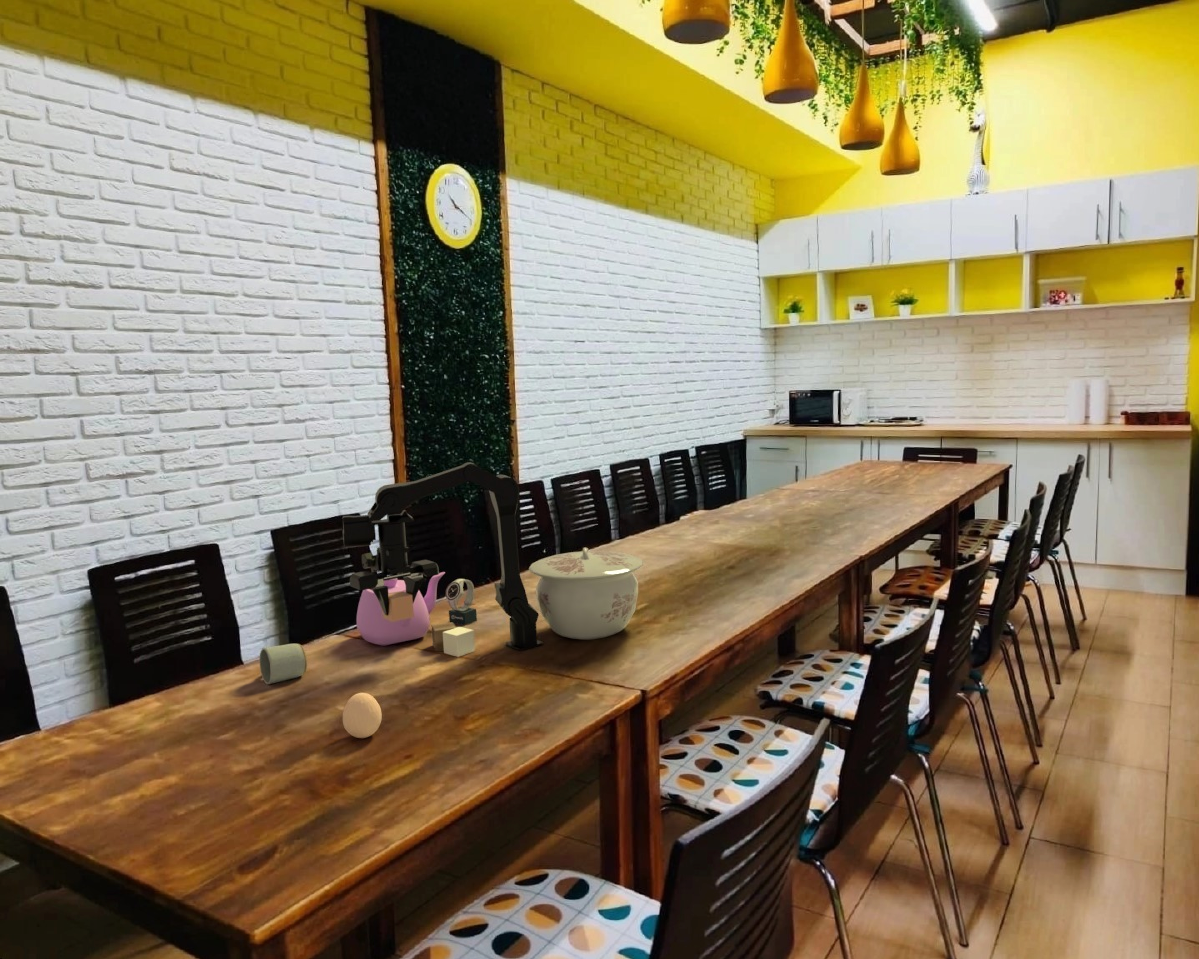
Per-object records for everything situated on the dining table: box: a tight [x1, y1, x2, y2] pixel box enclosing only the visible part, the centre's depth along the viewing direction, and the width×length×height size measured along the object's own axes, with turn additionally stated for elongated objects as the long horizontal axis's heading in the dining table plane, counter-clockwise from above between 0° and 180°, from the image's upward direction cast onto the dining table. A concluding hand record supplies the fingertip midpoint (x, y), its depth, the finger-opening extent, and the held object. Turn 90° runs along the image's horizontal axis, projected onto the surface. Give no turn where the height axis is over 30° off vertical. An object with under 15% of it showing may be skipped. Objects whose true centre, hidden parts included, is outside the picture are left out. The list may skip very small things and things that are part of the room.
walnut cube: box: [430, 622, 457, 652], centre depth 201 cm, size 5×5×5 cm
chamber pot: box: [528, 547, 644, 641], centre depth 207 cm, size 28×28×21 cm
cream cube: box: [443, 626, 476, 658], centre depth 197 cm, size 5×5×5 cm
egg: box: [342, 692, 383, 739], centre depth 152 cm, size 7×7×8 cm
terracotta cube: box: [382, 591, 414, 622], centre depth 190 cm, size 5×5×5 cm
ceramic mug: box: [259, 643, 308, 685], centre depth 185 cm, size 11×8×8 cm
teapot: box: [356, 571, 446, 647], centre depth 210 cm, size 23×21×15 cm
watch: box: [445, 578, 478, 626], centre depth 221 cm, size 6×8×11 cm
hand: (397, 612), depth 190 cm, fingers closed on terracotta cube, 5 cm apart
